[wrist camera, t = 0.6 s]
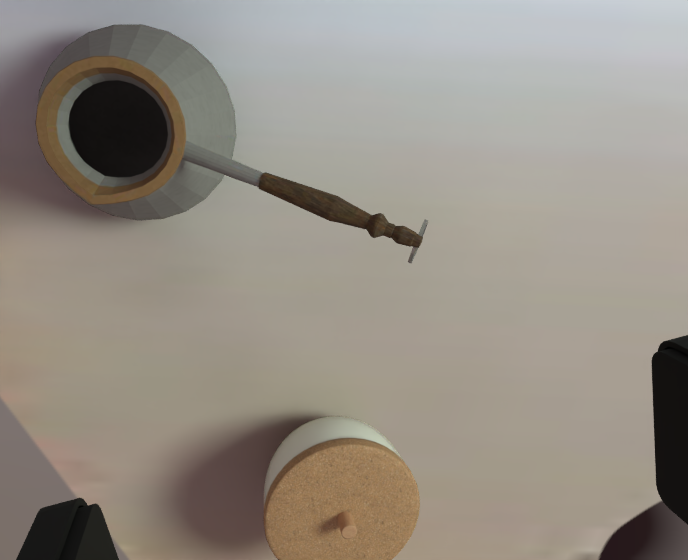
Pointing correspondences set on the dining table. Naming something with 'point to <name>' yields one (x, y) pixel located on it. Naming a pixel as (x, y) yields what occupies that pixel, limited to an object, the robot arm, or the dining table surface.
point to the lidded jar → (338, 494)
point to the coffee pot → (158, 132)
